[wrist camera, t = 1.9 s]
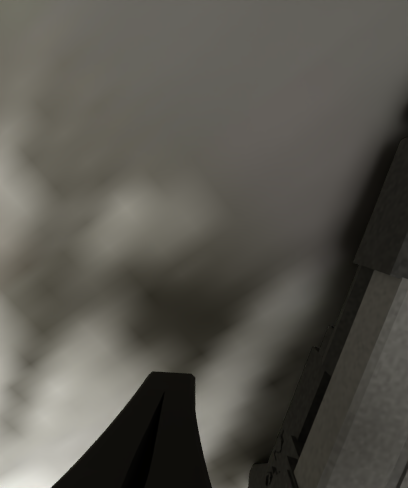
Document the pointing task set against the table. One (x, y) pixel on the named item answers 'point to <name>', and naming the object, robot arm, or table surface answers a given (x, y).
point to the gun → (356, 370)
